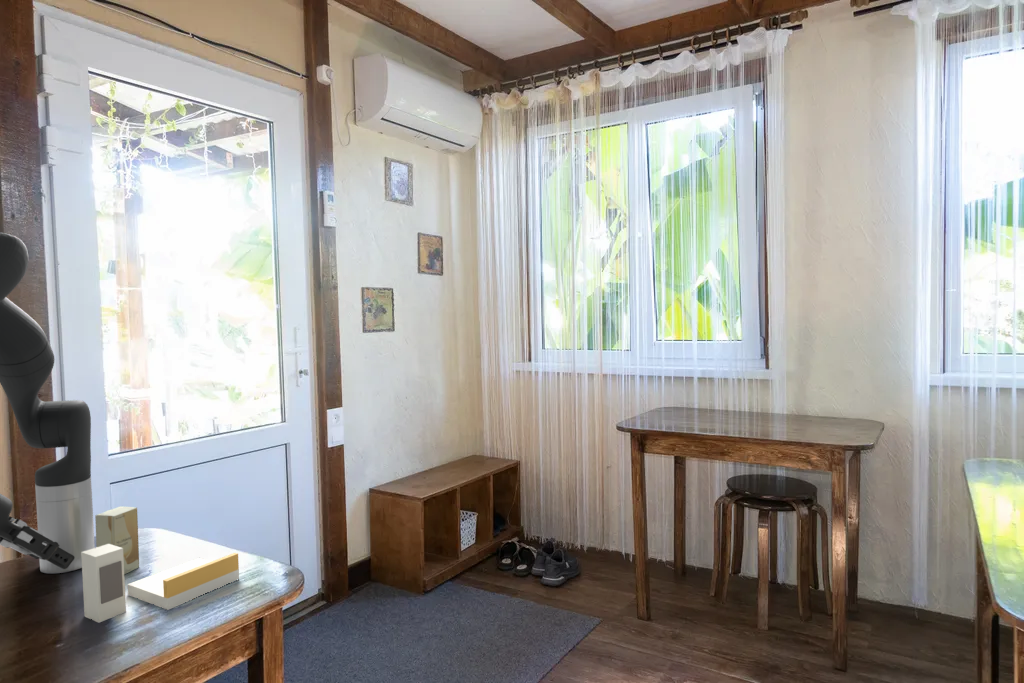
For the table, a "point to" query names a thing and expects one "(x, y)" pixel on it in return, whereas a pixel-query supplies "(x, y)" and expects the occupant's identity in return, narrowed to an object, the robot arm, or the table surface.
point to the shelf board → (185, 581)
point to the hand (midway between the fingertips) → (55, 558)
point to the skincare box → (120, 533)
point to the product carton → (103, 582)
